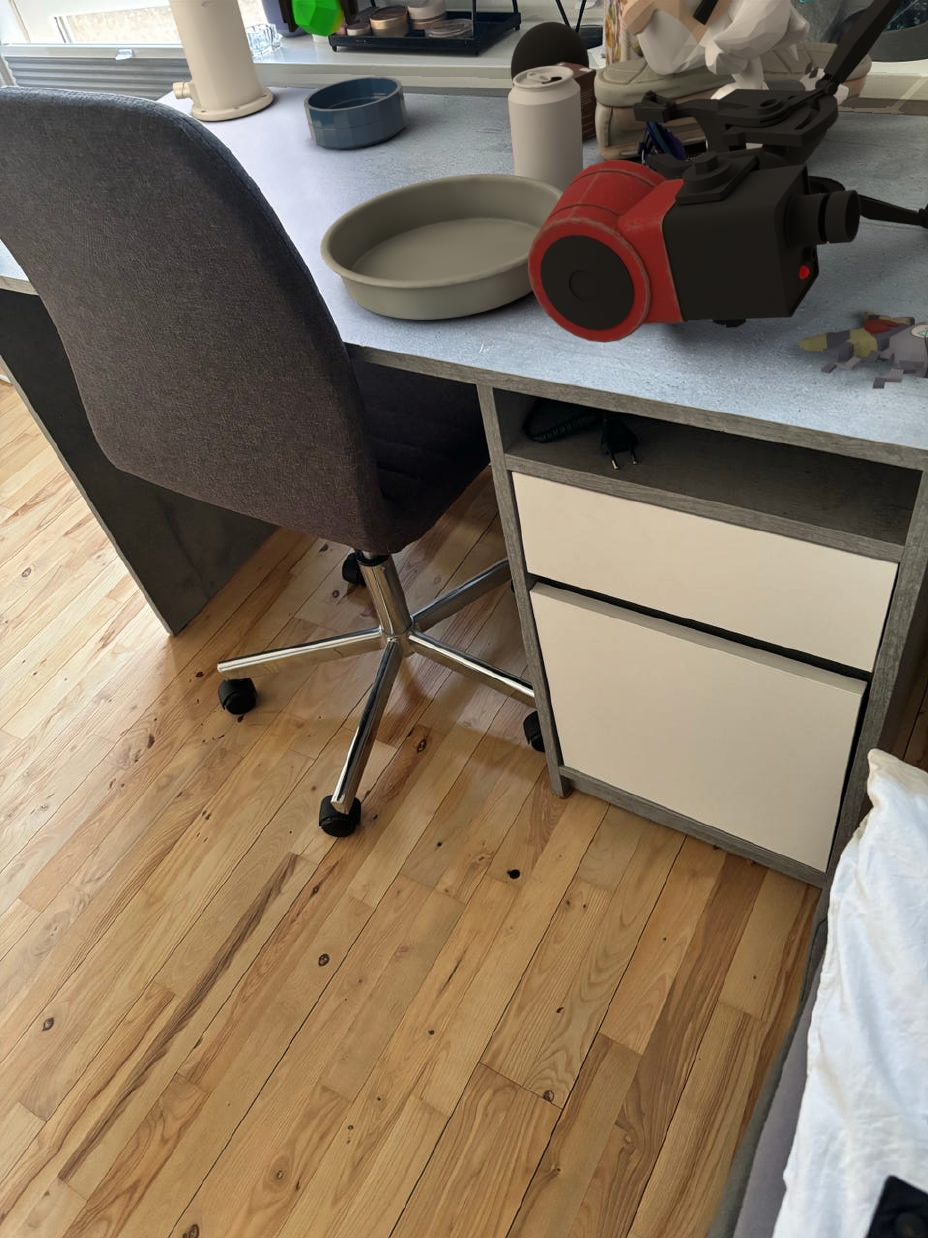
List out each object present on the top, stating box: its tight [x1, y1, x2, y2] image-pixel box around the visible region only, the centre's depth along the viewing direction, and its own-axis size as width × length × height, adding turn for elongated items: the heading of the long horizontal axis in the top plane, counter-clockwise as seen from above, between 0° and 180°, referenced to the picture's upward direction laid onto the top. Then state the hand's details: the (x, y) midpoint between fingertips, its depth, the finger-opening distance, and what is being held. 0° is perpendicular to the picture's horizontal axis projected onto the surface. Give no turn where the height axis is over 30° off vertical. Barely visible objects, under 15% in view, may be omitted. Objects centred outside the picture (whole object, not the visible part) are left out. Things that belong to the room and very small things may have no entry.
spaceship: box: [637, 122, 687, 172], centre depth 100 cm, size 7×6×5 cm
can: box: [507, 66, 584, 193], centre depth 98 cm, size 8×8×12 cm
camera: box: [528, 0, 928, 344], centre depth 77 cm, size 25×30×29 cm
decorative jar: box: [604, 0, 645, 67], centre depth 107 cm, size 12×12×18 cm
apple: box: [290, 0, 345, 38], centre depth 111 cm, size 7×6×9 cm
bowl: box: [303, 75, 409, 150], centre depth 124 cm, size 13×13×5 cm
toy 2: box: [797, 310, 928, 390], centre depth 69 cm, size 15×4×15 cm
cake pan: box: [319, 173, 563, 321], centre depth 90 cm, size 25×25×4 cm
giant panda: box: [705, 61, 850, 152], centre depth 96 cm, size 15×6×10 cm, turn 93°
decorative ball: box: [510, 21, 590, 87], centre depth 118 cm, size 10×10×10 cm
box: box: [553, 62, 598, 141], centre depth 111 cm, size 6×6×7 cm
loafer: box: [594, 41, 873, 161], centre depth 103 cm, size 11×30×9 cm, turn 88°
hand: (322, 23), depth 112 cm, fingers closed on apple, 6 cm apart
